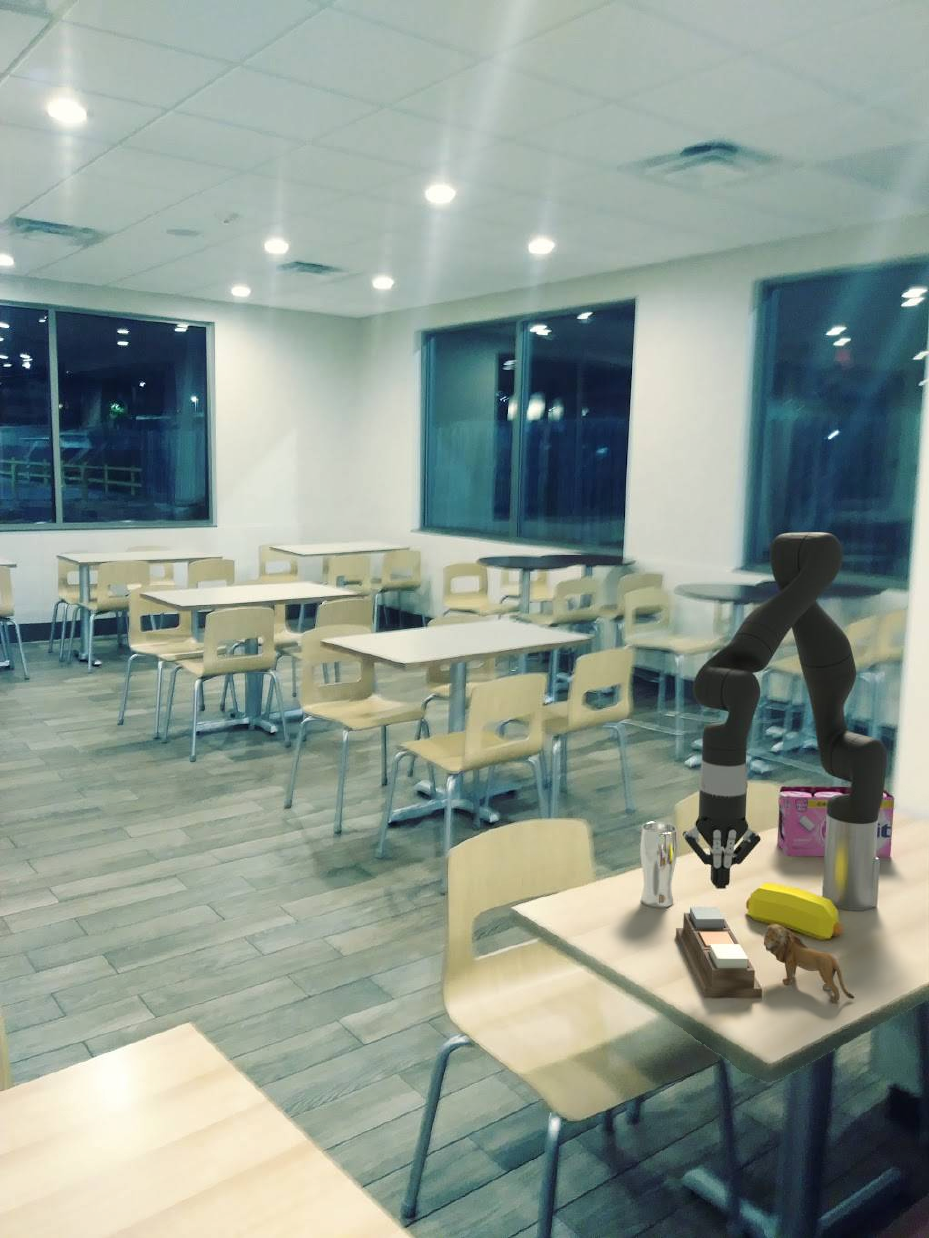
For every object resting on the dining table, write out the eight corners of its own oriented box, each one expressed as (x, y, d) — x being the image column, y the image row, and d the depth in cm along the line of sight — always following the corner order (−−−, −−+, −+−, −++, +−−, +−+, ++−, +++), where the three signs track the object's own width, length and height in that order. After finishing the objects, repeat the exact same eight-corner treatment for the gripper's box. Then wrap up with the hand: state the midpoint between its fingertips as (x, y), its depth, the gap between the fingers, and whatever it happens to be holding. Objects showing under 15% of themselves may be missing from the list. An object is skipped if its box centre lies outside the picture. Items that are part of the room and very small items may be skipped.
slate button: (716, 921, 173) (717, 906, 172) (723, 934, 168) (724, 918, 167) (689, 921, 173) (690, 906, 172) (696, 934, 168) (696, 918, 167)
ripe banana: (754, 905, 187) (737, 918, 181) (755, 872, 186) (738, 885, 180) (849, 932, 176) (834, 948, 170) (851, 897, 175) (836, 912, 169)
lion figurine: (756, 979, 159) (759, 927, 158) (768, 966, 163) (770, 916, 162) (849, 1008, 150) (852, 953, 149) (859, 994, 154) (862, 940, 153)
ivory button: (738, 960, 159) (739, 944, 158) (747, 975, 154) (747, 958, 154) (709, 960, 159) (710, 944, 158) (717, 975, 154) (717, 958, 154)
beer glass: (673, 894, 192) (675, 821, 189) (677, 909, 185) (679, 834, 183) (637, 893, 192) (639, 820, 190) (640, 908, 185) (642, 833, 183)
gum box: (781, 857, 211) (784, 796, 209) (770, 843, 219) (773, 785, 217) (891, 857, 211) (895, 797, 209) (876, 843, 218) (880, 785, 217)
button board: (726, 935, 174) (726, 912, 173) (761, 997, 153) (762, 970, 153) (676, 935, 174) (676, 912, 173) (704, 997, 153) (705, 970, 153)
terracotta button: (726, 947, 166) (727, 931, 165) (734, 961, 161) (735, 945, 161) (698, 947, 166) (699, 931, 165) (705, 961, 161) (706, 945, 161)
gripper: (756, 779, 163) (752, 877, 166) (677, 780, 163) (675, 877, 166) (770, 793, 156) (766, 896, 158) (688, 794, 156) (685, 896, 158)
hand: (719, 886), depth 162 cm, fingers closed
